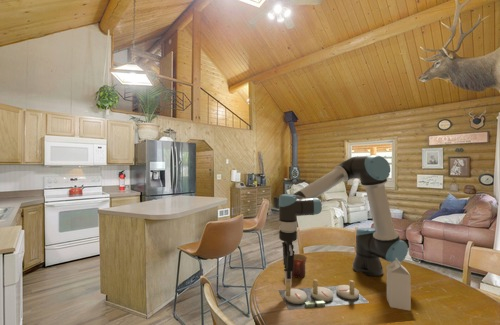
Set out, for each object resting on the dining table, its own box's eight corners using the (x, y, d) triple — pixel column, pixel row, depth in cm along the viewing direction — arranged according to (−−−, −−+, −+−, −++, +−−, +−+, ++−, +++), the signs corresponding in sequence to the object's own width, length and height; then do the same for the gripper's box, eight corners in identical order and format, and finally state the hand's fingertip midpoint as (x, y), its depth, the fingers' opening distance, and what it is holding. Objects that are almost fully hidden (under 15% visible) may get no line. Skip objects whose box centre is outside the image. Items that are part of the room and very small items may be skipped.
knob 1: (281, 293, 106) (281, 277, 106) (300, 291, 108) (300, 275, 108) (289, 305, 97) (290, 287, 97) (310, 302, 99) (310, 284, 99)
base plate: (349, 287, 114) (349, 282, 114) (369, 305, 100) (369, 299, 100) (278, 292, 109) (278, 287, 109) (288, 312, 94) (288, 306, 94)
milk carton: (405, 304, 101) (405, 258, 101) (410, 313, 94) (410, 265, 95) (386, 300, 103) (386, 256, 104) (390, 310, 97) (390, 262, 97)
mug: (289, 272, 130) (289, 253, 130) (306, 274, 128) (306, 254, 129) (288, 282, 118) (289, 262, 119) (307, 284, 117) (307, 263, 117)
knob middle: (307, 292, 107) (307, 276, 107) (324, 288, 110) (324, 273, 110) (319, 303, 98) (319, 285, 99) (337, 299, 101) (337, 282, 101)
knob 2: (351, 287, 111) (351, 272, 111) (363, 298, 102) (363, 281, 102) (332, 289, 110) (332, 273, 110) (343, 300, 101) (343, 283, 101)
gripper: (276, 226, 110) (277, 278, 110) (282, 234, 97) (282, 293, 97) (292, 226, 111) (293, 277, 111) (300, 234, 98) (301, 292, 98)
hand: (288, 284), depth 104 cm, fingers closed
